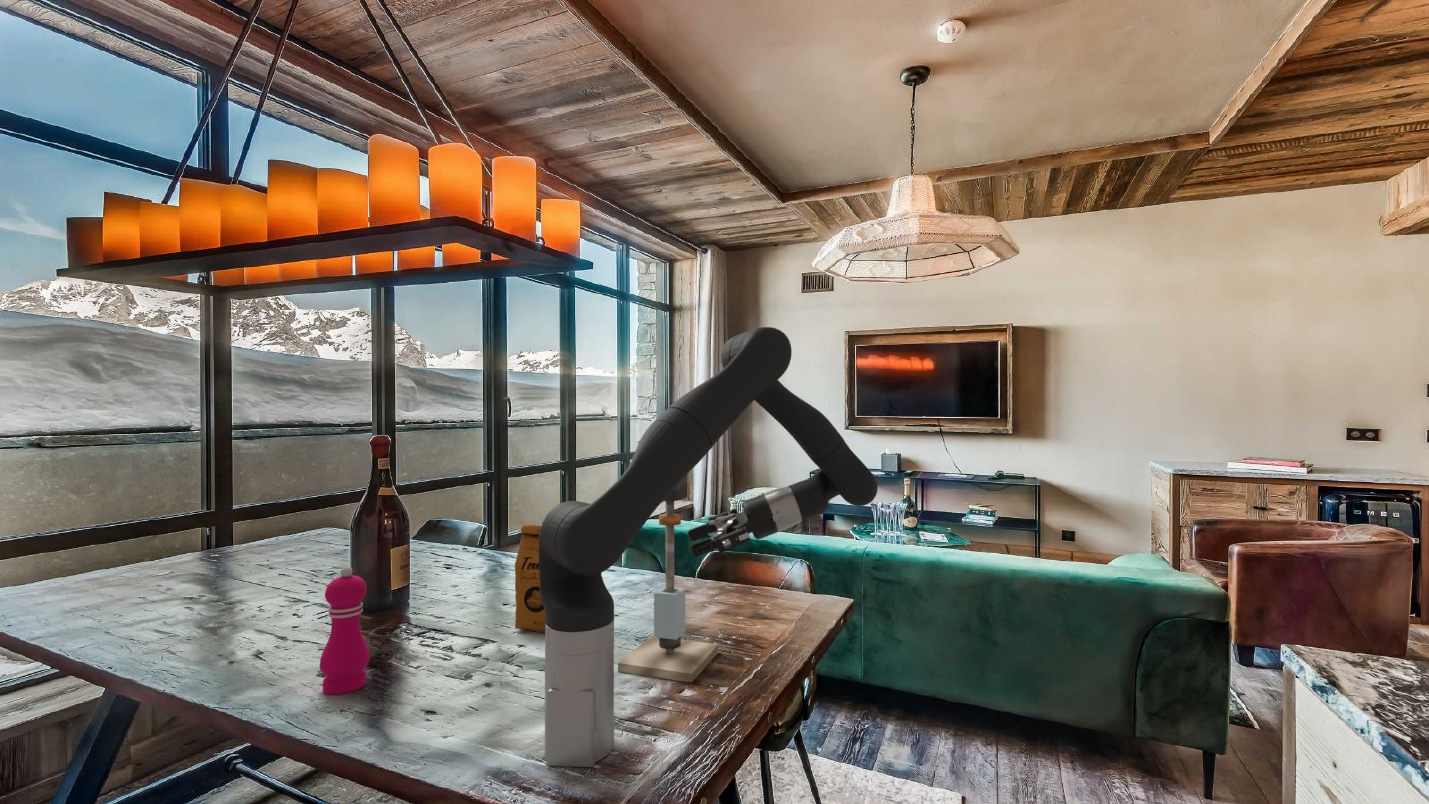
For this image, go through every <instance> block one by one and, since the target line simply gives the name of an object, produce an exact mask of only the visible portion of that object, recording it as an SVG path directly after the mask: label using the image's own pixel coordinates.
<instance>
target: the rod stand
mask: <svg viewBox="0 0 1429 804" xmlns="http://www.w3.org/2000/svg"><path fill="white" fill-rule="evenodd" d="M686 498H688V474H687V475H686V476H685V477H684V478H683V479H682V480H681V481H680V483H679V484H678V485H677V486H676V487H675V488H674V489H673V491H672V492H671V493H670V494H669V495H668V496H667V497H666V498H665V499H664V500H663V501H665V513H661V514H659V515H658V519H659V520H658V525H660V526H664V527H665V587H666V592H668V593H674V587H675V526H681V523H682V521H681V520H682V517H681V515H682V514H679V513H675V502H677V501H681V500H683V499H686ZM681 638H682V635H681V636H680V637H679V638H678V639H677V640H674V639H666V638H659V637H654V635H651V636H650V637H649V638H648V639H646V640H645V641H643V643H641V644H640V645H638V646H637V647H636V648H635V649H634V650H632V651H631V652H630V653H628V654H627V655H626V656H625V657H623V659H621V660H620V661H618V662H617V672H620V673H624V674H625V673H626V674H633V675H639V676H646V677H653V678H660V679H664V678H665V679H666V680H671V679H672V681H678V682H679V681H680V682H685V683H693V682H694V681H695V680H696V679H697V677H698V676H699V675H700V673H702V672H703V670H704V669H705V668H706V667H707V666H708V665H709V664H710V663H711V661H712V660H713V659H714V658H715V656H717V654H719V644H715V643H709V642H702V641H700V642H699V641H693V640H687V639H686V640H683V639H681Z"/></svg>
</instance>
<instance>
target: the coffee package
mask: <svg viewBox="0 0 1429 804" xmlns="http://www.w3.org/2000/svg"><path fill="white" fill-rule="evenodd" d="M541 526H542V525H536V524H534V525H533V524H522V527H521V528H520V532H521V536H520V542H519V545H518V551H517V554H516V559H515V561H514V575H515V577H514V578H515V580H514V584H515V585H514V589H515V595H514V596H515V597H514V598H515V619H514V620H515V622H514V623H515V624H514V629H518V630H520V629H521V630H527V631H535V632H540V633H544V634H545V624H546V623H545V610H544V607H543V604H542V600H541V596H540V579H539V535H540V530H541Z"/></svg>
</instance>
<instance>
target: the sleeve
mask: <svg viewBox="0 0 1429 804" xmlns="http://www.w3.org/2000/svg"><path fill="white" fill-rule="evenodd" d="M653 601H654V602H653V627H654V628H653V636H654V637H659V638H666V639H674V640H677V639H678V638H679V637H680V636H681V637H682V635H683V634H685V633H686V588H683V587H675V586H674V593H668V592H666V586H662V587H661V588H659V589H657V590H656V591H655V592H653Z"/></svg>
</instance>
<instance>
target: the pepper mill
mask: <svg viewBox="0 0 1429 804" xmlns="http://www.w3.org/2000/svg"><path fill="white" fill-rule="evenodd" d="M339 573H340V576H337V578H334V579H333V580H332V581H330V582H329V583H328V584H327V586H326V588H325V592H324V599H325V601H326V603H327V604H329V605H330V606H328V614H327V616H328V618H330V619H331V620H330V621H331V630H330V633H329V636H328V637H329V638H328V640H327V642H326V644H325V647H324V648H323V650H322V653H321V656H320V659H319V670H320V672H321V673H323V675H325V677H323V680H322V692H323V693H324V694H327V695H344V694H348V693H349V694H350V693H351V692H354V691H355V692H356V691H357V690H359V689H361V688H363V687H364V686H365V685H366V684H367V671H366V670H365V668H366V667H367V665H368V663H369V662H370V660H371V656H370V649H369V645H368V643H367V641H366V639H365V637H364V635H363V633H362V630H361V625H360V619H361V618H360V617H361V614H362V613H363V611H364V609H363V606H364V602H362V601H363V600H364V598H365V596H366V595H367V584H366V582H365V580H364V579H363V578H362V577H360V576H358V575H353V568H352V567H351V566H344V567H343V568H341V570H340V571H339Z"/></svg>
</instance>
